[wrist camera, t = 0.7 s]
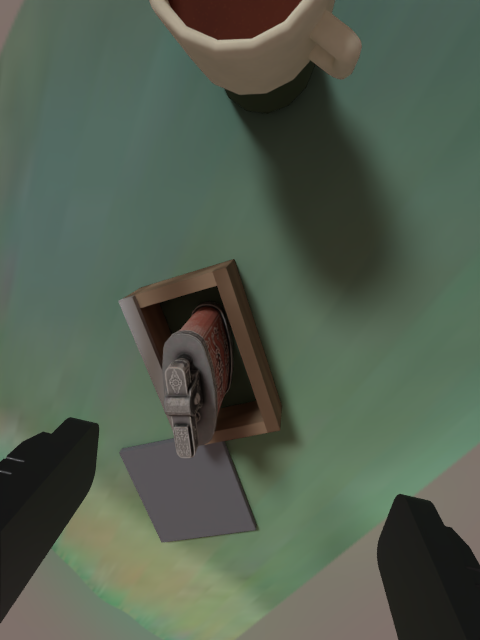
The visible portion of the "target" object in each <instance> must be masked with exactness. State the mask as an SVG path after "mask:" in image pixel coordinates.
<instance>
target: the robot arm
mask: <svg viewBox="0 0 480 640" xmlns="http://www.w3.org/2000/svg"><path fill="white" fill-rule="evenodd" d="M98 438H99V425H98V424H97V423H93V422H89V421H84V420H80V419H76V418H71V417H70V418H67V419H66V420H65V421H64V422H63V423H62V424H61V425H60V426H59V427H58V428H57V429H56V430H55V431H54V432H53V433H52V434H50V433H46V432H42V433H39V434H37V435H35V436H33V437H31V438H29V439H27V440H25V441H23V442H22V443H21V444H19V445H18V446H17V447H16V448H15V449H14V450H13V451H12V452H11V453H10V454H8V455H7V458H6V459H3V460H2V461H1V462H0V623H1V622H2V620H3V619H4V617H5V616H6V614H7V613H8V611H9V610H10V608H11V607H12V605H13V604H14V603H15V601H16V599H17V598H18V596H19V595H20V594H21V592H22V590H23V589H24V588H25V586H26V585H27V583H28V582H29V580H30V579H31V577H32V576H33V574H34V573H35V571H36V570H37V568H38V567H39V565H40V564H41V562H42V561H43V559H44V558H45V556H46V555H47V553H48V552H49V550H50V549H51V547H52V546H53V544H54V543H55V542H56V540H57V539H58V537H59V536H60V534H61V533H62V531H63V530H64V528H65V527H66V525H67V524H68V522H69V521H70V519H71V518H72V516H73V515H74V513H75V512H76V510H77V509H78V507H79V506H80V504H81V503H82V501H83V500H84V498H85V497H86V495H87V494H88V492H89V490H90V487H91V485H92V482H93V479H94V475H95V470H96V459H97V448H98ZM377 561H378V567H379V570H380V574H381V578H382V581H383V585H384V589H385V592H386V596H387V599H388V603H389V606H390V611H391V614H392V617H393V621H394V625H395V629H396V632H397V636H398V640H480V565H479V563H478V561H477V559H476V558H475V556H474V554H473V552H472V550H471V549H470V547H469V546H468V545H467V544H466V543H465V542H464V541H463V540H462V539H461V537H460V536H459V535H458V534H457V533H456V532H455V531H454V530H453V529H452V528H451V527H446V526H445V525H444V524H443V522H442V520H441V518H440V516H439V514H438V512H437V510H436V508H435V507H434V505H433V503H432V502H431V501H428V500H424V499H420V498H416V497H411V496H407V495H403V494H399V495H397V496H396V498H395V499H394V502H393V504H392V507H391V509H390V512H389V514H388V517H387V520H386V522H385V525H384V527H383V530H382V532H381V535H380V538H379V541H378V547H377Z"/></svg>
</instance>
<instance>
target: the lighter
mask: <svg viewBox="0 0 480 640" xmlns="http://www.w3.org/2000/svg"><path fill="white" fill-rule="evenodd" d="M233 367H234V349H233V342H232V336H231V329H230V326H229V323H228V319H227V316H226V312H225V310H224V308H223V307H222V306H221V305H220V304H218V303H216V302H212V301H207V302H202V303H201V304H199V305H198V306H197V307H196V308H195V309H194V310H193V312H192V315H191V318H190V319H189V320H188V321H187V322H186V323H185V325H184V326H183V327H182V328H181V329H180V330H179V331H177V332H175V333H174V334H172V335H171V336H170V337H169V339H168V340H167V341H166V342H165V344H164V347H163V363H162V375H163V388H164V395H165V397H164V411H165V414H166V415H168V416H170V419H171V422H172V426H173V432H174V439H175V446H176V452H177V454H178V456H179V457H181V458H192V457H194V455H195V453H196V450H197V448H198V446H202V445H205V444H207V443H209V442H210V441H211V440H212V437H213V435H214V432H215V429H216V421H217V415H218V412H219V409H220V406H221V404H222V401H223V398H224V395H225V394H226V393H227V392H228V391H229V388H230V386H231V383H232V376H233Z"/></svg>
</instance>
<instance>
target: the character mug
mask: <svg viewBox="0 0 480 640" xmlns="http://www.w3.org/2000/svg"><path fill="white" fill-rule="evenodd" d="M149 1H150V4H151V6H152V8H153V10H154V11H155V13H156V15H157V16H158V17H159V18H160V20H161V21H162V22H163V24H164V25H165V26H166V27H167V29H168V30H169V31H170V32H171V34H172V35H173V36H174V38H175V39H176V40H177V41H178V43H179V44H180V45H181V46H182V48H183V49H184V50H185V52H186V53H187V54H188V55H189V57H190V58H191V59H192V60H193V61H194V63H195V64H196V65H197V66H198V67H199V68H200V69H201V71H202V72H203V73H204V74H205V75H206V76H207V77H208V78H209V80H210V81H211V82H212V83H214V84H215V85H218V86H220V87H222V88H224V89H225V91H226V93H227V94H228V96H229V98H230V99H232V100H233V101H234V102H236V103H237V104H238V105H240V106H241V107H242V108H244V109H245V110H246V111H253V112H261V113H270V112H272V111H275V110H277V109H280V108H283V107H285V106H288V105H289V104H290V103H291V102H292V101H293V100H294V99H295V98H296V97H297V96H298V95H299V94H300V93H301V92H302V91H303V90H304V89H305V88H306V86H307V83H308V81H309V79H310V76H311V74H312V71H313V69H314V66H315V64H316V65H317V66H319V67H320V68H321V69H322V70H324V71H325V72H326V73H328V74H329V75H331V76H332V77H334V78H337V79H340V80H341V79H345V78H346V77H347V76H349V75H350V74H352V72H353V70H354V68H355V65H356V63H357V61H358V59H359V56H360V52H361V48H362V45H361V40H360V39H359V37H358V36H357V35H356V33H355V32H354V31H353V30H352V29H351V28H349V27H348V26H347V25H345V24H344V23H343V22H342V21H340V20H339V19H338V18H337V17H335V16H334V15H333V14H332V10H333V6H334V2H335V0H149Z"/></svg>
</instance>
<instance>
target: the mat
mask: <svg viewBox="0 0 480 640" xmlns="http://www.w3.org/2000/svg"><path fill="white" fill-rule="evenodd" d="M119 453H120V455H121V458H122V460H123V462H124V464H125V466H126V468H127V470H128V472H129V474H130V477H131V479H132V481H133V483H134V485H135V487H136V489H137V491H138V493H139V496H140V498H141V500H142V502H143V504H144V506H145V508H146V510H147V512H148V515H149V517H150V519H151V521H152V523H153V525H154V527H155V529H156V531H157V534H158V536H159V538H160V540H161V542H169V541H176V540H184V539H192V538H199V537H207V536H214V535H222V534H229V533H237V532H245V531H252V530H256V522H255V520H254V517H253V515H252V512H251V509H250V507H249V504H248V501H247V499H246V496H245V494H244V491H243V488H242V486H241V483H240V480H239V478H238V475H237V473H236V470H235V467H234V465H233V462H232V460H231V457H230V454H229V452H228V449H227V446H226V444H225V441H222V442H217V443H212V444H207V445H202V446H198V448H197V450H196V453H195V455H194V457H192V458H181V457H179V456H178V454H177V452H176V446H175V439H174V438H173V439H168V440H163V441H158V442H153V443H148V444H143V445H138V446H133V447H128V448H123V449H121V451H120V452H119Z"/></svg>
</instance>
